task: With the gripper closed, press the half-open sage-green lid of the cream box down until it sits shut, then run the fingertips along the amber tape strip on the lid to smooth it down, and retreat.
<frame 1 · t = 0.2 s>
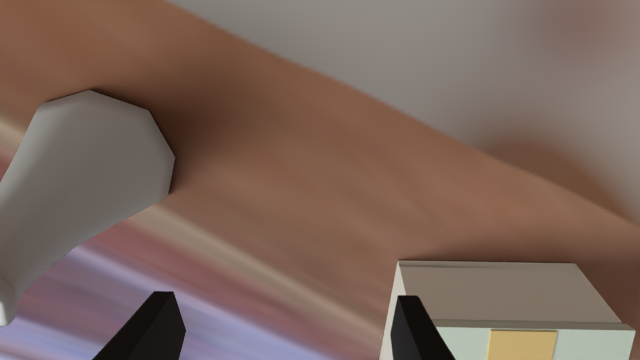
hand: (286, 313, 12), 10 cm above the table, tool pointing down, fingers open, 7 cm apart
parcel box: (465, 317, 27), on the table
flask: (113, 149, 20), on the table
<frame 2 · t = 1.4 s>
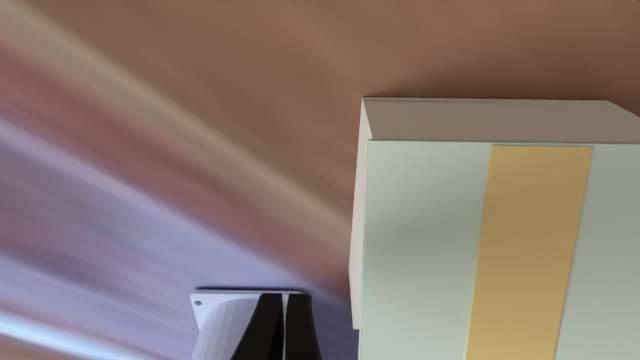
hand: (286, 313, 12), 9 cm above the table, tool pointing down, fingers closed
box lid: (513, 293, 14), point 7 cm above the table, hinge at 20.0°
parcel box: (457, 198, 21), on the table
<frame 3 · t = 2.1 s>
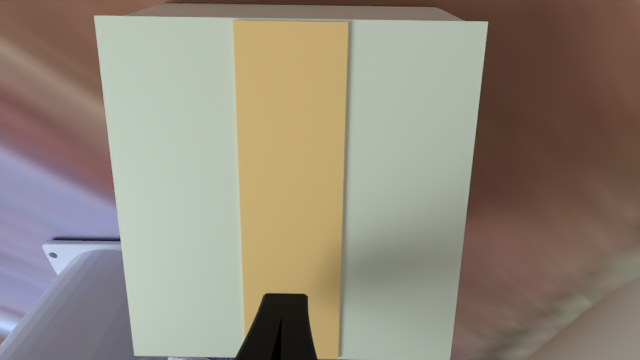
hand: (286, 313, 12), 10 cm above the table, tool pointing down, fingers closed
box lid: (292, 205, 13), point 7 cm above the table, hinge at 20.0°
parcel box: (302, 129, 19), on the table
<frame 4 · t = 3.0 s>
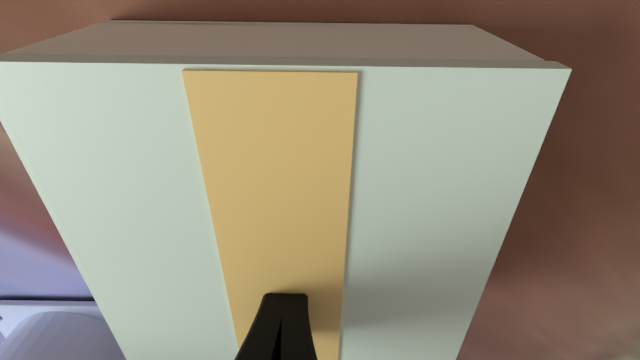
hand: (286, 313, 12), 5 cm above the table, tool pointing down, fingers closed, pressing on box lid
box lid: (284, 267, 11), point 5 cm above the table, hinge at -0.6°, touching gripper, parcel box
parcel box: (295, 176, 15), on the table
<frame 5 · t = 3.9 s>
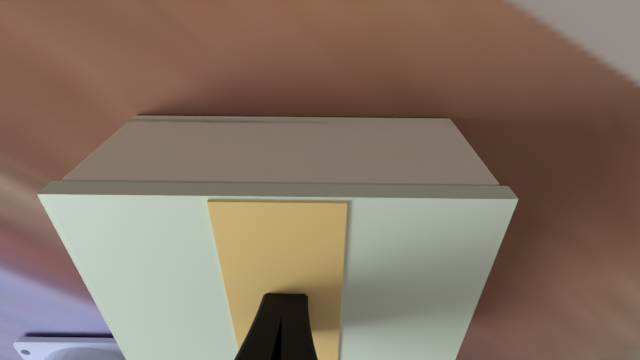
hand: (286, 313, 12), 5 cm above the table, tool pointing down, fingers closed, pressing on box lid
box lid: (288, 331, 13), point 5 cm above the table, hinge at -0.6°, touching gripper, parcel box
parcel box: (296, 235, 17), on the table
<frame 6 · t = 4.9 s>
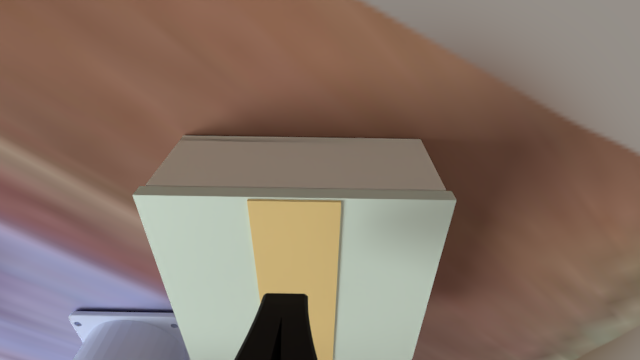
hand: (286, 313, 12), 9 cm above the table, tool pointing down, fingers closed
box lid: (298, 297, 17), point 5 cm above the table, hinge at -0.6°, touching parcel box
parcel box: (303, 227, 21), on the table
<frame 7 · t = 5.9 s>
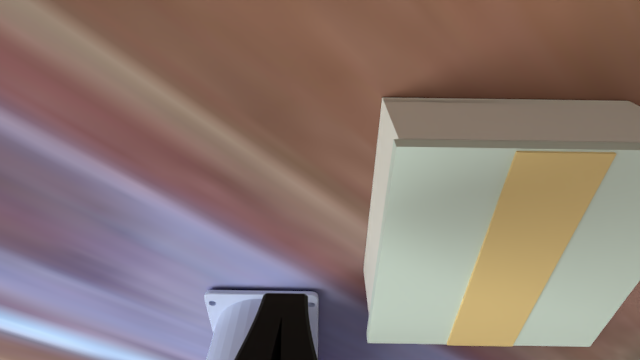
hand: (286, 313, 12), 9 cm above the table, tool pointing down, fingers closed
box lid: (510, 263, 16), point 5 cm above the table, hinge at -0.6°, touching parcel box
parcel box: (474, 198, 20), on the table
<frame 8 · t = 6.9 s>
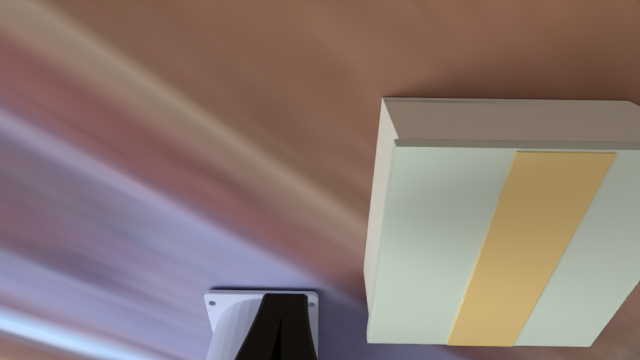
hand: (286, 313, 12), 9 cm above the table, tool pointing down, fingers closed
box lid: (510, 263, 16), point 5 cm above the table, hinge at -0.6°, touching parcel box
parcel box: (474, 198, 20), on the table
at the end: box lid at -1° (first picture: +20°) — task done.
